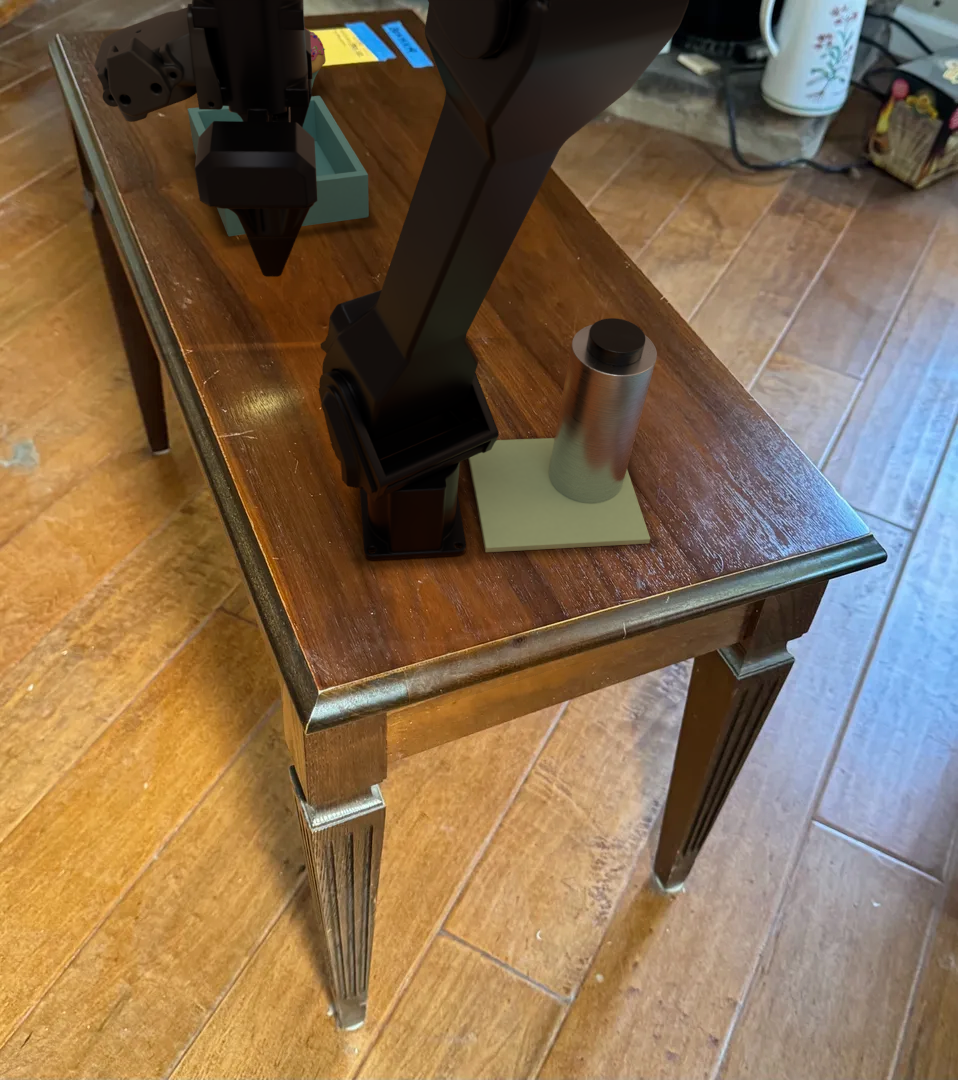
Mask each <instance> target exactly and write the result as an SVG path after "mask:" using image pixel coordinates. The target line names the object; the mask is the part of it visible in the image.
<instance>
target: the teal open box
mask: <svg viewBox="0 0 958 1080" xmlns="http://www.w3.org/2000/svg"><path fill="white" fill-rule="evenodd" d="M187 115H188V121H189V127H190V128H189V129H190V134H191V139H192V140H191V141H192V147H193V151H194V154H195V155H196V154H197V146H198V138H199V137H200V135H201V134H202V133H203V132H204V131H205V130H206V129H207V128H208V127H209V126H210V124H211V123H212V122H213V121H243V120H242V118H241V117H240V116H239V115H238V114H237V113H234V112H230V111H229V107H228V106H223V107H222V109H220V110H209V109H199V107H190V108H187ZM303 129H304V130H305V131H307V132H308V133H309V134H310V135H311V136H312V137H313V138H314V141H315V159H316V178H317V202H315V203H314V205H313V206H312V207H310V209H309V211H308V213H307V215H306V218H305V220H304V222H303V224H302V226H301V227H306V226H312V225H321V224H327V223H336V222H341V221H342V222H343V221H350V220H356V219H357V220H358V219H364V218H365V219H366V218H369V217H370V215H369V214H370V212H369V210H370V209H369V208H370V207H369V174H368V172H367V170H366V169H365V167H364V166H363V164H362V163H361V161H360V159H359V157H358V156H357V154H356V152H355V151H354V149H353V148H352V146H351V144H350V143H349V141H348V139H347V138H346V136H345V134H344V133H343V131H342V129H341V128H340V126H339V124H338V123H337V122H336V120H335V118H334V116H333V115H332V113H331V111H330V109H329V108H328V106H327V105H326V103H325V101H324V100H323V98H322V97H321V96H320V95H314V96H313V95H312V97H311V100H310V104H309V107H308V111H307V114H306V118H305V121H304V124H303ZM216 209H217V211H218V214H219V216H220V219H221V222H222V224H223V227H224V229H225V231H226V234H227V236H228V237H233V236H240V235H246V233H245V231H244V229H243V227H242V224H241V222H240V220H239V218H238V216H237V215H236V214H235V213H234V212H233V211H231V210H229V209H222V208H217V207H216Z"/></svg>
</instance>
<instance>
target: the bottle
mask: <svg viewBox="0 0 958 1080" xmlns="http://www.w3.org/2000/svg"><path fill="white" fill-rule="evenodd" d="M570 345H571V346H570V352H569V358H568V363H567V367H566V373H565V379H564V384H563V390H562V396H561V401H560V407H559V412H558V416H557V417H558V418H557V423H556V429H555V434H554V438H555V439H554V444H553V450H552V455H551V461H550V466H549V478H550V481H551V483H552V485H553V486H554V488H555V489H556V490H557V491H558V492H560V493H561V494H562V495H564V496H565V497H567V498H569V499H571V500H574V501H577V502H582V503H600V502H604V501H607V500H609V499H611V498H613V497H614V496H616V495H617V494H618V493H619V491H620V490H621V488H622V485H623V481H624V478H625V474H626V470H628V466H629V463H630V459H631V454H632V453H633V452H632V451H633V447H634V444H635V441H636V437H637V433H638V429H639V427H640V426H639V425H640V421H641V418H642V414H643V411H644V408H645V403H646V400H647V396H648V391H649V388H650V385H651V381H652V377H653V373H654V370H655V365H656V362H657V358H658V352H657V348H656V346H655V344H654V342H653V341H652V340H651V339H650V338H649V337H648V336H647V335H646V334H645V333H644V331H643V330H642V328H640V327H639V326H638V324H635V323H634V322H631V321H629V320H626V319H622V318H618V317H617V318H615V317H608V318H602V319H600V320H597V321H595V322H594V323H593V324H590V325H587V326H585V327H583V328H581V329H580V330H578V331H577V332H576V333H575V335H574V336H573V338H572V341H571V344H570Z"/></svg>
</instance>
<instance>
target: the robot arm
mask: <svg viewBox="0 0 958 1080" xmlns="http://www.w3.org/2000/svg"><path fill="white" fill-rule="evenodd" d="M427 2H428V5H427V13H426V21H425V24H424V25H425V26H424V36H425V39H426V42H427V45H428V48H429V50H430V52H431V56H432V57H433V60H434V64H435V66H436V68H437V71H438V74H439V76H440V79H441V81H442V85H443V86H444V90H445V97H444V101H443V105H442V109H441V112H440V114H439V118H438V121H437V123H436V127H435V130H434V133H433V136H432V138H431V141H430V144H429V147H428V151H427V154H426V156H425V160H424V162H423V166H422V168H421V171H420V174H419V177H418V180H417V183H416V186H415V189H414V192H413V195H412V198H411V200H410V204H409V207H408V210H407V213H406V216H405V218H404V222H403V224H402V228H401V230H400V234H399V237H398V240H397V242H396V246H395V249H394V251H393V254H392V258H391V261H390V264H389V266H388V270H387V272H386V275H385V279H384V282H383V285H382V287H381V289H379V290H377V291H374V292H370V293H368V294H367V293H366V294H365V295H361V296H358V297H355V298H352V299H350V300H347V301H344V302H341V303H338V304H337V305H336V306H335V307H334V308H333V310H332V312H331V313H330V315H329V322H328V330H327V335H326V338H325V340H324V341H322V342H321V343H320V344H319V345H320V348H321V350H322V351H323V352H324V353H325V356H324V358H323V361H322V367H321V371H322V374H321V375H320V377H319V387H318V393H319V399H320V402H321V403H320V405H321V410H322V412H323V415H324V419H325V423H326V428H327V432H328V437H329V439H330V444H331V449H332V450H333V452H334V456H335V457H336V458H337V460H338V461H339V462H340V469H341V481H342V482H343V483H344V485H345V486H346V487H350V488H356V489H359V502H360V513H361V528H362V543H363V545H362V546H363V555H364V558H366V559H367V560H369V561H378V560H379V561H380V560H381V561H382V560H399V559H416V558H417V559H418V558H434V557H452V556H462V555H463V554H465V553H466V550H467V541H466V535H465V530H464V523H463V516H462V511H461V505H460V499H459V492H458V490H459V476H460V466H461V465H460V464H461V462H464V461H465V460H469V459H468V458H470V457H472V456H475V455H477V454H479V453H481V452H482V453H485V452H487V451H489V450H491V449H492V447H493V445H494V443H495V442H496V440H498V438H499V435H500V434H499V433H500V432H499V430H498V427H497V424H496V422H495V419H494V416H493V415H492V412H491V409H490V407H489V404H488V400H487V398H486V396H485V394H484V390H483V388H482V386H481V383H480V380H479V378H478V375H477V373H476V371H477V368H478V364H479V357H478V356H477V354H476V352H475V351H474V348H473V347H472V345H471V343H470V341H469V340H468V338H467V335H468V332H469V331H470V328H471V326H472V324H473V322H474V320H475V318H476V316H477V314H478V312H479V310H480V308H481V306H482V304H483V302H484V300H485V298H486V296H487V294H488V292H489V290H490V288H491V286H492V284H493V283H494V280H495V278H496V276H497V275H498V273H499V270H500V268H501V267H502V264H503V262H504V260H505V259H506V256H507V254H508V253H509V250H510V249H511V248H512V247H511V246H512V245H513V243H514V241H515V239H516V236H517V234H518V232H519V231H520V229H521V227H522V225H523V223H524V221H525V219H526V217H527V215H528V213H529V211H530V210H531V207H532V205H533V203H534V201H535V199H536V197H537V195H538V193H539V191H540V189H541V187H542V186H543V183H544V182H545V179H546V178H547V175H548V173H549V172H550V169H551V167H552V165H553V163H554V161H555V160H556V157H557V155H558V153H559V152H560V150H561V148H562V147H563V146H564V145H565V143H566V142H567V141H568V140H569V139H570V138H572V137H573V136H574V135H575V134H576V133H577V132H579V131H580V130H582V128H584V127H585V126H586V125H588V124H589V123H591V122H592V120H594V119H596V117H598V116H599V115H600V114H601V113H602V112H604V111H605V110H606V109H608V108H609V107H610V106H611V105H613V104H614V103H615V102H616V101H617V100H619V99H620V98H621V97H623V96H624V95H625V94H627V93H628V92H629V91H630V90H631V89H632V87H633V86H634V85H635V84H636V83H637V81H638V80H639V79H640V78H641V76H642V75H643V74H644V73H645V72H646V70H647V69H648V68H649V67H650V65H651V64H652V63H653V62H654V60H655V59H656V58H657V56H659V54H660V53H661V52H662V51H663V49H664V48H665V47H666V46H667V44H668V43H669V42H670V41H671V40H672V38H673V37H674V35H675V34H676V32H677V31H678V29H679V28H680V26H681V25H682V21H683V19H684V17H685V14H686V11H687V9H688V6H689V3H690V0H427ZM304 3H305V2H304V0H191V3H187V6H186V7H184V8H181V9H178V10H174V11H173V10H172V11H167V12H164V13H162V14H158V15H156V16H153V17H151V18H148V19H145V20H143V21H140V22H137V23H134V24H132V25H129V26H126V27H124V28H121V29H119V30H116V31H114V32H111V33H110V34H109V35H107V36H106V37H104V39H102V41H101V42H100V45H99V48H98V52H97V54H96V58H95V62H94V65H93V68H94V69H95V71H96V72H97V75H96V76H97V78H98V80H99V81H100V83H101V87H102V91H103V92H102V100H103V101H104V103H105V104H106V105H107V106H109V107H112V108H116V107H117V108H118V109H119V112H120V113H121V115H122V116H123V118H124V120H125V121H126V122H130V123H134V122H138V121H141V120H144V119H146V118H148V114H149V113H153V112H155V111H158V110H161V109H164V108H167V107H170V106H172V105H175V104H178V103H181V102H183V101H186V100H188V99H190V98H192V97H194V96H195V95H196V97H197V104H198V108H199V109H209V110H220V109H222V107H223V106H228V107H229V111H230V112H234V113H237V114H238V115H239V116H240V117H241V118H242V120H243V121H213V122H212V123H211V124H210V126H209V127H208V128H207V129H206V130H205V131H204V132H203V133H202V134H201V135H200V137H199V138H198V146H197V154H195V162H194V163H195V164H194V172H195V179H196V185H197V191H198V196H199V198H198V199H199V202H201V203H202V204H204V205H207V206H208V207H214V208H216V209H217V208H222V209H229V210H231V211H233V212H234V213H235V214H236V215H237V216H238V218H239V220H240V222H241V224H242V227H243V229H244V231H245V233H246V234H245V236H246V238H247V241H248V243H249V245H250V248H251V250H252V252H253V255H254V257H255V259H256V262H257V264H258V266H259V269H260V272H261V274H262V275H263V276H264V277H266V278H271V277H275V278H276V277H281V276H282V274H283V272H284V269H285V267H286V265H287V262H288V259H289V257H290V255H291V252H292V250H293V247H294V245H295V243H296V240H297V238H298V236H299V233H300V231H301V229H302V227H303V226H302V224H303V222H304V220H305V218H306V215H307V213H308V211H309V209H310V207H312V206H313V205H314V203H315V202H317V178H316V159H315V141H314V138H313V137H312V136H311V135H310V134H309V133H308V132H307V131H305V130H304V129H303V124H304V121H305V118H306V114H307V111H308V107H309V104H310V100H311V97H312V96H313V86H312V81H311V79H313V78H312V56H311V38H310V32H309V31H310V30H309V29H308V30H309V31H308V30H307V27H306V26H305V11H304V10H305V8H304Z"/></svg>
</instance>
